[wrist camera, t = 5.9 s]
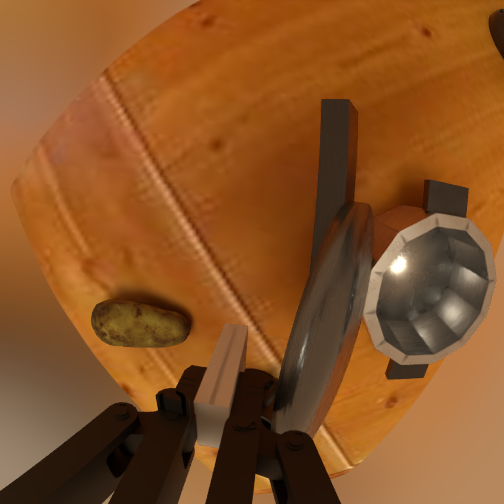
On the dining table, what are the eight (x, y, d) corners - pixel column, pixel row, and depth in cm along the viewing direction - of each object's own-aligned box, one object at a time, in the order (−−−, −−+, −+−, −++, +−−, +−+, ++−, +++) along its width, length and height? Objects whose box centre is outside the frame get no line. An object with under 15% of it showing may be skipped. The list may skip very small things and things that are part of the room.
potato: (180, 356, 40) (159, 388, 32) (109, 313, 40) (80, 336, 33) (200, 314, 38) (179, 344, 30) (122, 269, 38) (89, 288, 30)
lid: (330, 37, 7) (259, 46, 8) (273, 499, 12) (236, 482, 14) (384, 136, 21) (355, 133, 22) (350, 368, 26) (326, 361, 28)
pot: (466, 192, 29) (509, 198, 20) (434, 344, 35) (461, 380, 25) (346, 171, 31) (367, 167, 22) (324, 342, 36) (331, 386, 27)
